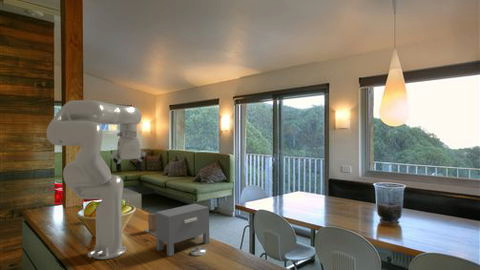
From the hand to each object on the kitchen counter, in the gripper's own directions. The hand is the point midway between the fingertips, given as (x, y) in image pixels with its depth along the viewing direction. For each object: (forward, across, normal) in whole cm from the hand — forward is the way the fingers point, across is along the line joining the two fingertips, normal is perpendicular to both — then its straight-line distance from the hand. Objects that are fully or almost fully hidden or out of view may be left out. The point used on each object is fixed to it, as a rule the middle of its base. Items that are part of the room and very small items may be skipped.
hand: (129, 171), depth 143 cm
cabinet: (+30, +9, -32) cm, 45 cm away
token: (+31, +9, -42) cm, 53 cm away
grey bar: (+31, +9, -12) cm, 34 cm away
